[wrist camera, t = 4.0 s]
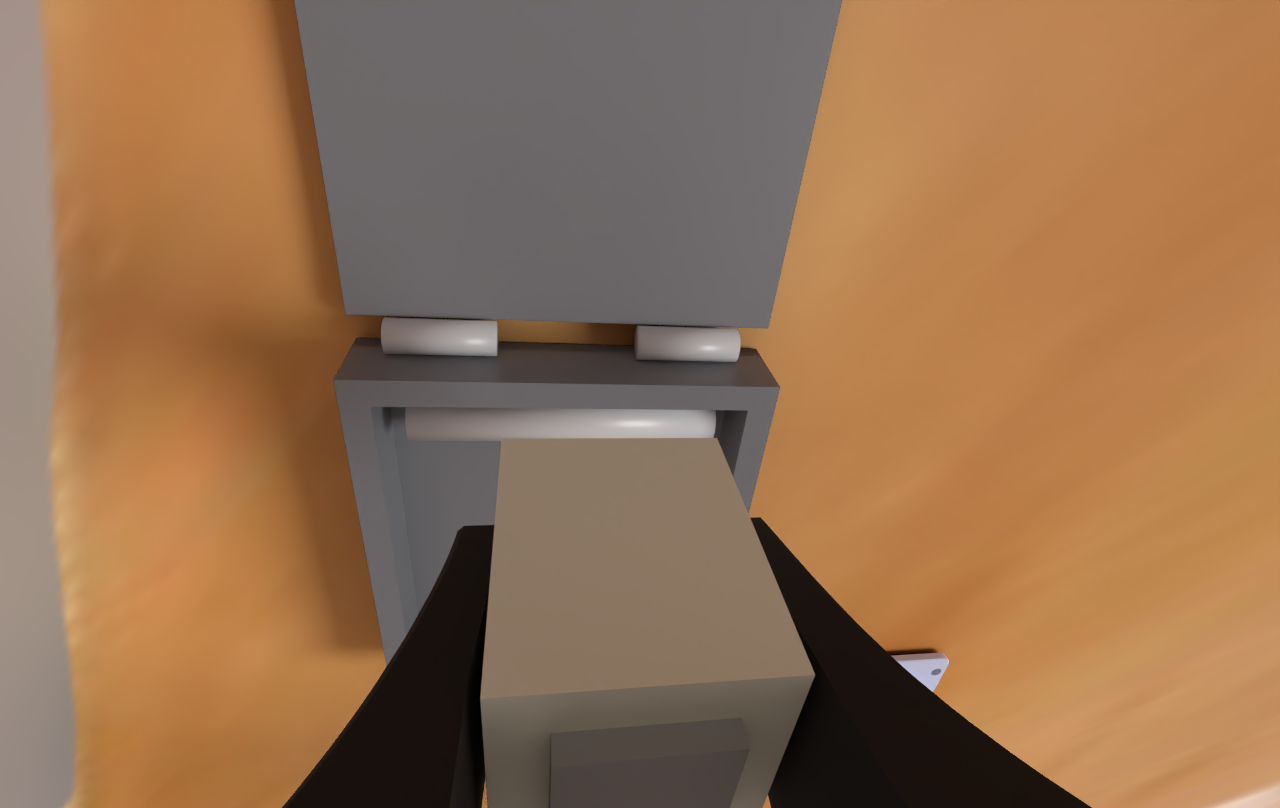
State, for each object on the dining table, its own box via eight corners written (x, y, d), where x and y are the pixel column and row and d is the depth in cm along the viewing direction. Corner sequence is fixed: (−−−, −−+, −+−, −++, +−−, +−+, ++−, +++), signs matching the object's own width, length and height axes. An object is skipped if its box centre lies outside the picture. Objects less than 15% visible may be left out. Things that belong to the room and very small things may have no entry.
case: (693, 634, 27) (705, 684, 25) (405, 649, 25) (394, 704, 23) (755, 348, 20) (780, 387, 18) (356, 337, 18) (332, 379, 16)
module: (688, 583, 14) (760, 860, 9) (505, 591, 13) (490, 893, 9) (717, 437, 12) (828, 706, 7) (501, 438, 11) (477, 734, 7)
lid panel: (755, 348, 20) (768, 368, 19) (356, 337, 18) (344, 359, 17) (851, -86, 14) (876, -94, 13) (275, -173, 12) (249, -191, 11)
